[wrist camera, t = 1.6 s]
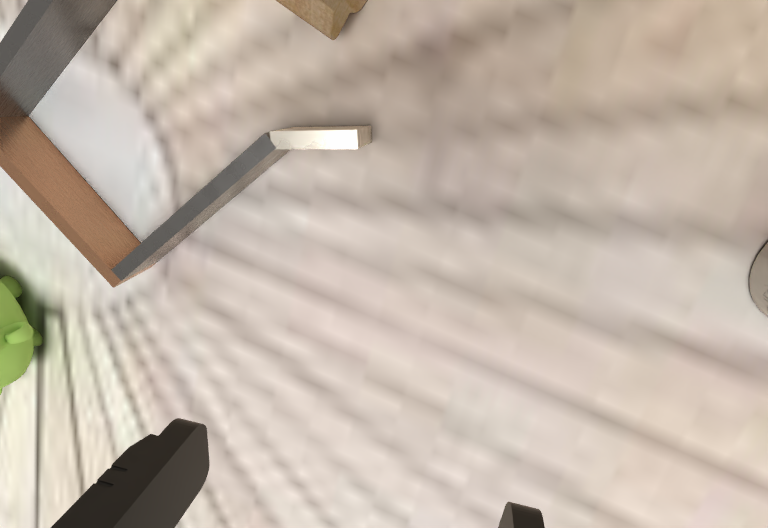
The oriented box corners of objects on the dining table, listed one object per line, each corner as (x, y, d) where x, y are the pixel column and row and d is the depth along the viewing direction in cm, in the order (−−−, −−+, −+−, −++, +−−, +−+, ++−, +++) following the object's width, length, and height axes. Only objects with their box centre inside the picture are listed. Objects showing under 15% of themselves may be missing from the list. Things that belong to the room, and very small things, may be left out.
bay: (156, -185, 26) (99, -237, 22) (378, 136, 31) (365, 142, 27) (-20, 78, 35) (-83, 76, 31) (174, 295, 40) (141, 317, 36)
